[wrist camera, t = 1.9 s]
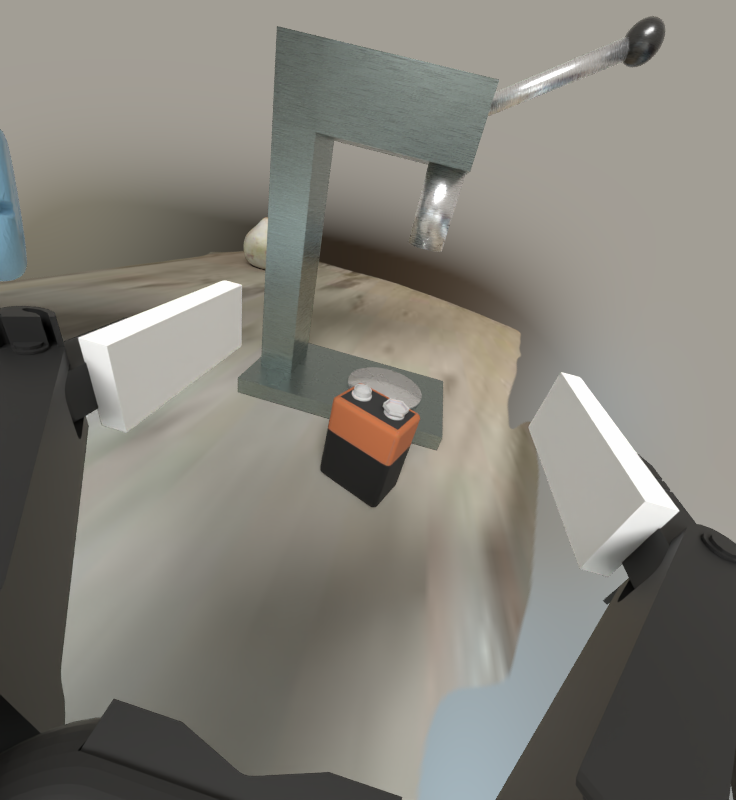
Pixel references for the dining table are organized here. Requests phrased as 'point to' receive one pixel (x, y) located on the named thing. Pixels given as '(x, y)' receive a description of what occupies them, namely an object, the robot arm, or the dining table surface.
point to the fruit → (257, 244)
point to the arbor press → (391, 134)
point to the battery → (367, 442)
